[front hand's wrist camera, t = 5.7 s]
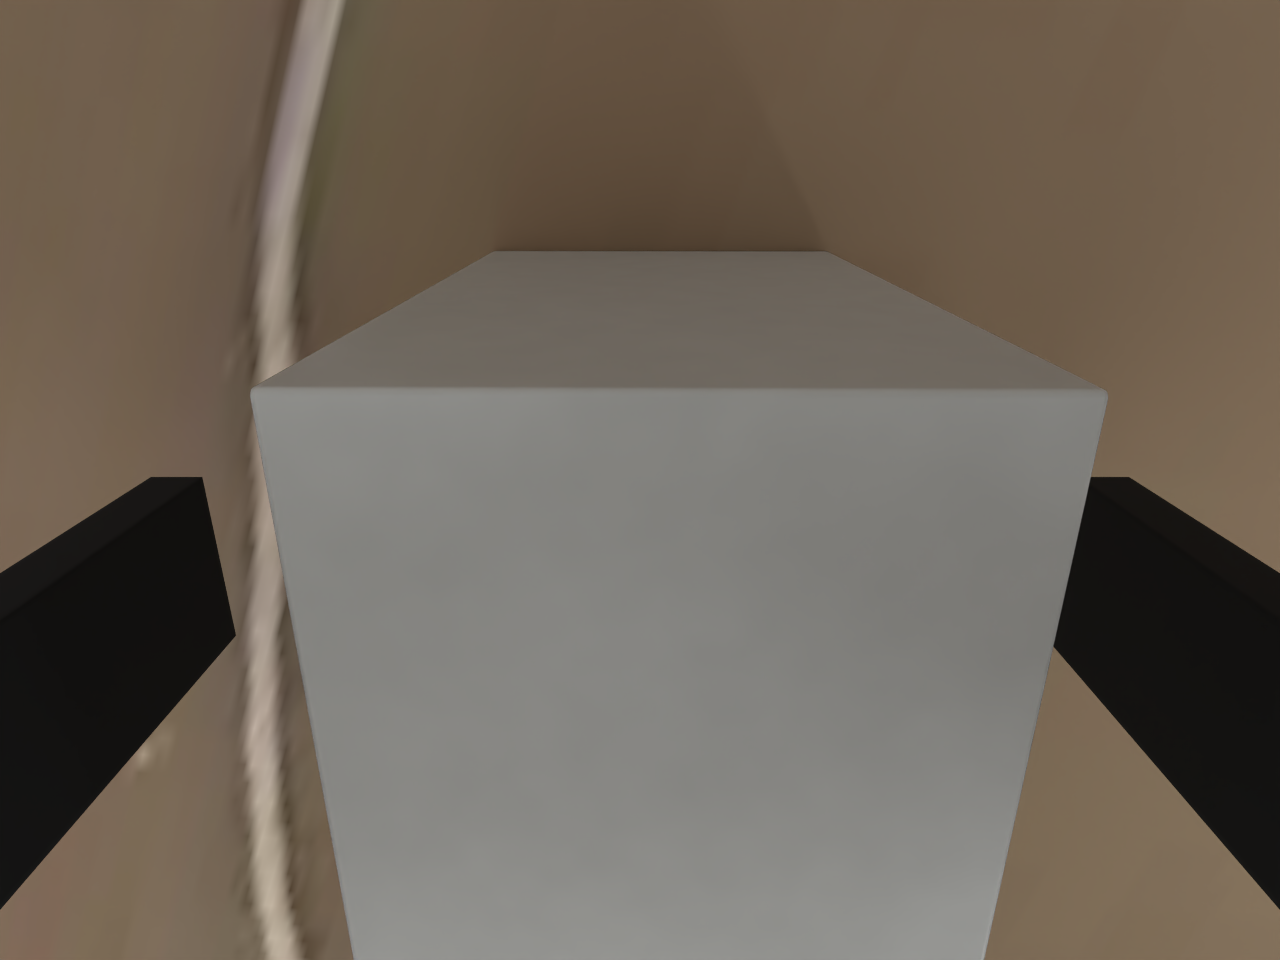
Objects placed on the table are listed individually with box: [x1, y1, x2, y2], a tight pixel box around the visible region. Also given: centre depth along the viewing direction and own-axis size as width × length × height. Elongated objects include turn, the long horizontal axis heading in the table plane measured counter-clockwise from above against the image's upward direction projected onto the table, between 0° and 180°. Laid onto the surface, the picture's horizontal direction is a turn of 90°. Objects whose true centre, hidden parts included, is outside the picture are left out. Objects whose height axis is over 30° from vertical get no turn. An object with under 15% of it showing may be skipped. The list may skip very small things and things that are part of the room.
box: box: [250, 251, 1108, 960], centre depth 15 cm, size 24×6×10 cm, turn 0°
